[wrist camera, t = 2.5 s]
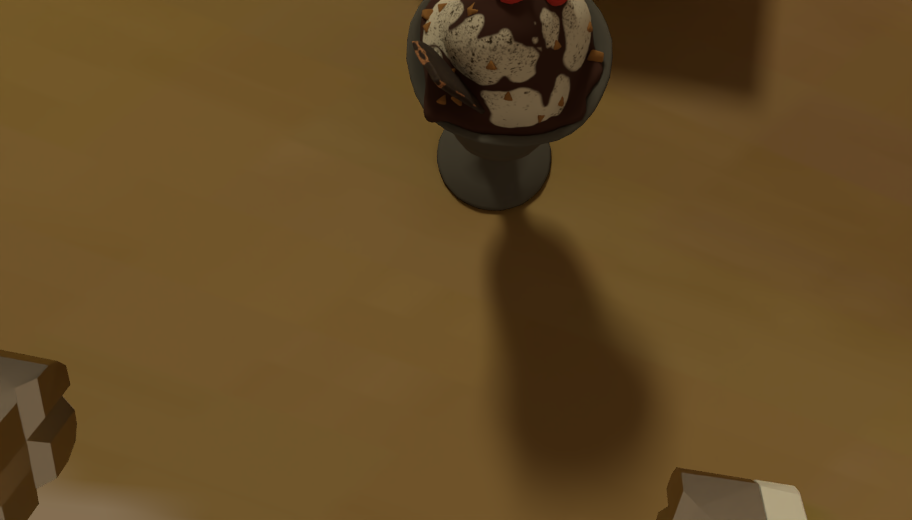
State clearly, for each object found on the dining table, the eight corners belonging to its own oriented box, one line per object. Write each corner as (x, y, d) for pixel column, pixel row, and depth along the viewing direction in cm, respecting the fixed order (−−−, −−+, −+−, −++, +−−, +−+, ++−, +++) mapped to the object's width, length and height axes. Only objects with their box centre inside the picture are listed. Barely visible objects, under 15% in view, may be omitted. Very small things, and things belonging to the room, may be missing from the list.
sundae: (574, 89, 39) (650, -136, 24) (565, 236, 37) (639, 91, 22) (426, 76, 39) (411, -156, 24) (410, 222, 37) (385, 69, 23)
